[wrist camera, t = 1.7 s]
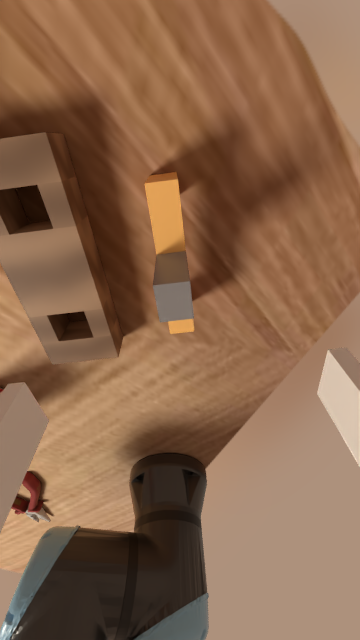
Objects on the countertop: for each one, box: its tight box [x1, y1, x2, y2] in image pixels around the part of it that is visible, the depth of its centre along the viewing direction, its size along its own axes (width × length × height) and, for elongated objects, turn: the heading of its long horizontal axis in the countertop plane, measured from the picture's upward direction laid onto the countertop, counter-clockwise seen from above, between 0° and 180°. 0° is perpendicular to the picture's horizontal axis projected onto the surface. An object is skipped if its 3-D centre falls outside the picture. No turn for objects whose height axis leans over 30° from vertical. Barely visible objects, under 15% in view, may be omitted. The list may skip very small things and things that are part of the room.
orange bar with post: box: [145, 172, 194, 334], centre depth 24 cm, size 14×2×12 cm, turn 7°
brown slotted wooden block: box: [0, 132, 123, 365], centre depth 28 cm, size 22×8×4 cm, turn 7°
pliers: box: [11, 472, 50, 522], centre depth 57 cm, size 12×20×3 cm, turn 8°
